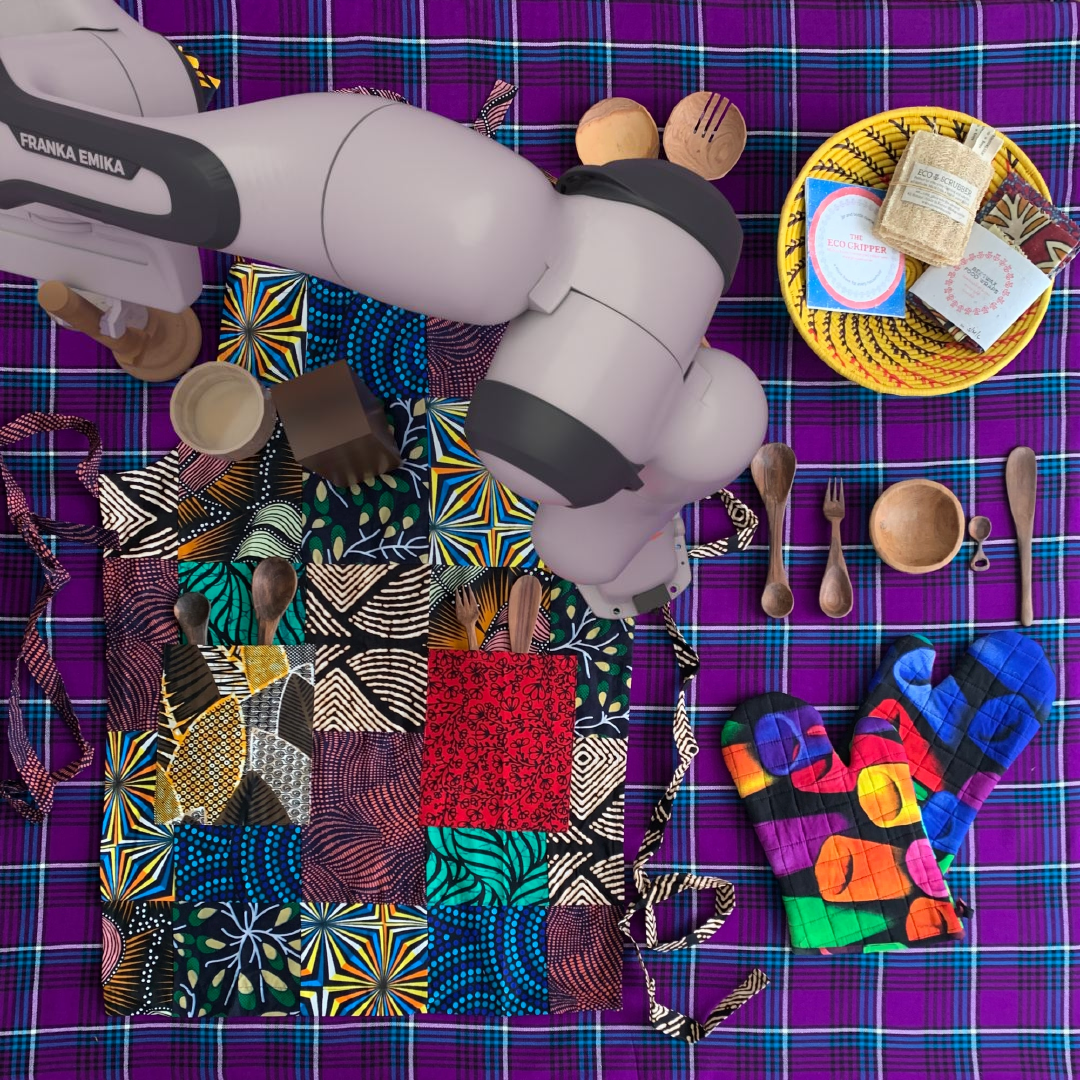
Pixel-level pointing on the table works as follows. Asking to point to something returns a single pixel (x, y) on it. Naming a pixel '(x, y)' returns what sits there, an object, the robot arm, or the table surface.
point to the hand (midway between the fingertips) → (93, 329)
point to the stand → (336, 425)
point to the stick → (92, 322)
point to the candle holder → (157, 338)
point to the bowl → (222, 411)
